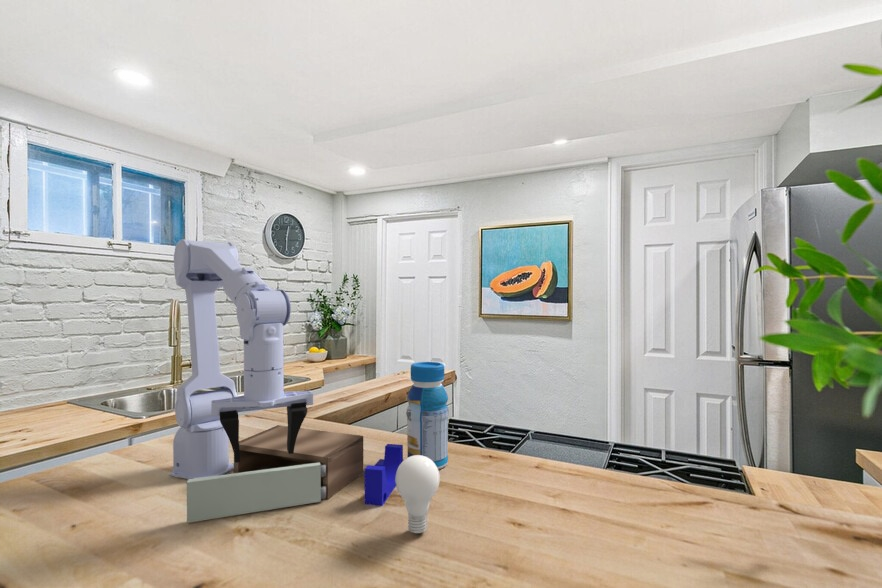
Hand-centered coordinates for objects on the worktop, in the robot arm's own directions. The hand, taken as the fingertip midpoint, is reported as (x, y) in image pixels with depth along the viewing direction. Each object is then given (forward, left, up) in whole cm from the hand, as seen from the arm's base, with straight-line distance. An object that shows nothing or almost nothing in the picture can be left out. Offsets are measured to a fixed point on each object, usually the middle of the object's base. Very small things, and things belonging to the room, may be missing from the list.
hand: (264, 455), depth 69 cm
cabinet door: (-2, +1, -9) cm, 9 cm away
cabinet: (-4, +13, -9) cm, 17 cm away
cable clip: (+13, +14, -10) cm, 21 cm away
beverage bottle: (+16, +27, -10) cm, 33 cm away
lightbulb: (+24, +3, -9) cm, 26 cm away
